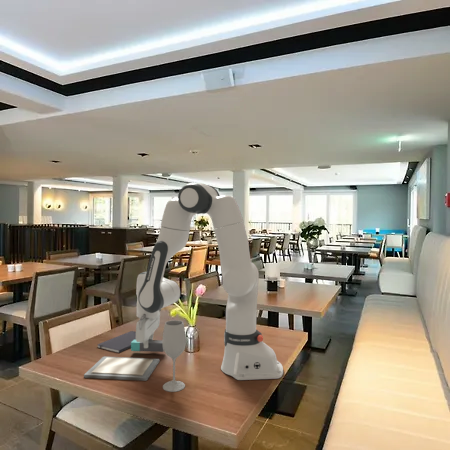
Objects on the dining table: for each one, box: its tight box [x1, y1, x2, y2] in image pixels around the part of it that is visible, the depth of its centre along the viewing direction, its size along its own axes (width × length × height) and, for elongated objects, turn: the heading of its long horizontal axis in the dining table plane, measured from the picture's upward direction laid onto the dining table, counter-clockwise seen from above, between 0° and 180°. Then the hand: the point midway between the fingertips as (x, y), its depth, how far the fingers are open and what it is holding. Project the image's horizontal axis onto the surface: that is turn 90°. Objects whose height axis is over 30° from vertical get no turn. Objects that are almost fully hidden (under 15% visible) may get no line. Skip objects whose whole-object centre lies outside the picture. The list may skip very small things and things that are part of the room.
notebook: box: [97, 330, 136, 354], centre depth 160 cm, size 13×2×21 cm
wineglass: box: [162, 319, 187, 393], centre depth 119 cm, size 8×8×21 cm
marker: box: [130, 339, 165, 353], centre depth 147 cm, size 13×3×3 cm, turn 85°
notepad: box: [83, 356, 160, 382], centre depth 132 cm, size 22×16×1 cm
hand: (148, 345), depth 147 cm, fingers closed on marker, 3 cm apart
